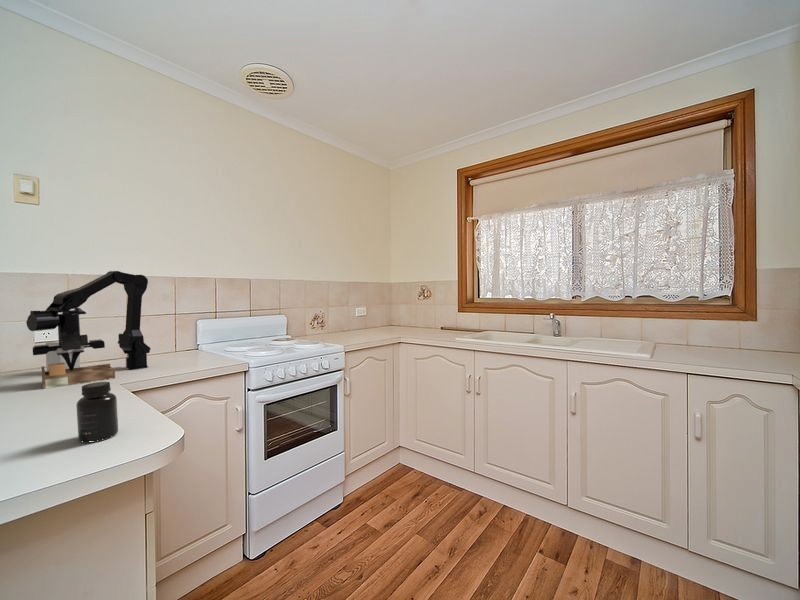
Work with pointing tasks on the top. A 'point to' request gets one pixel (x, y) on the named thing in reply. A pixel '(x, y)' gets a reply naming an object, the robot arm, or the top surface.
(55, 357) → the supplement box
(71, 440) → the top surface
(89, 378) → the brown flat box
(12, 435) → the top surface
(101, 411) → the supplement bottle
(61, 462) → the top surface
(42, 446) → the top surface
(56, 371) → the block
